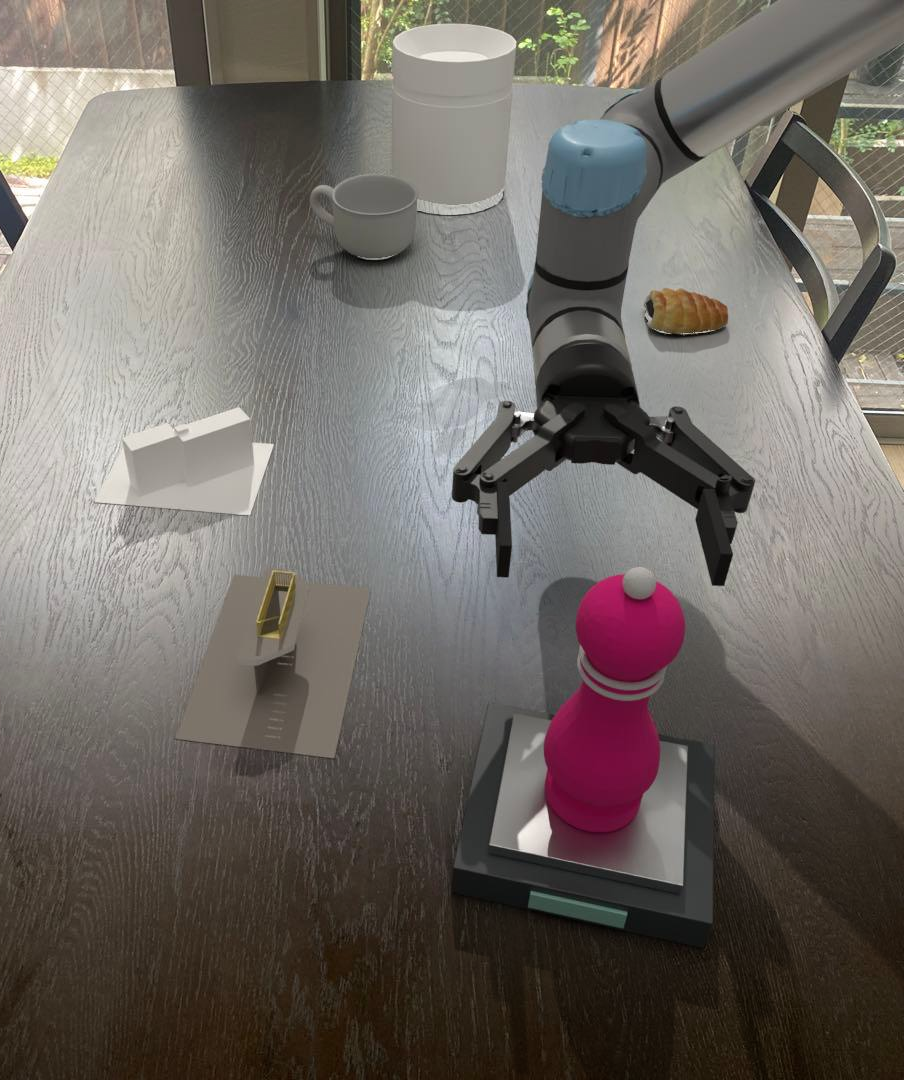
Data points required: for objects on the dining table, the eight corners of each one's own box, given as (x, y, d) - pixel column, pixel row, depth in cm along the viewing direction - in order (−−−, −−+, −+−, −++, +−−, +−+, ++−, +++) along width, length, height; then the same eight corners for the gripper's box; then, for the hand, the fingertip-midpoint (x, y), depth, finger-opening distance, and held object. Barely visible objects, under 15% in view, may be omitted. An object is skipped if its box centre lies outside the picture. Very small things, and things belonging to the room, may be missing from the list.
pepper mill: (650, 847, 68) (716, 626, 55) (534, 832, 69) (573, 611, 56) (646, 756, 73) (705, 534, 60) (538, 743, 74) (574, 521, 61)
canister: (490, 222, 145) (502, 67, 132) (376, 207, 149) (377, 55, 136) (515, 176, 156) (528, 29, 143) (409, 163, 160) (412, 19, 147)
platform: (371, 588, 92) (371, 530, 88) (334, 758, 78) (332, 699, 74) (234, 574, 93) (227, 516, 89) (175, 738, 80) (163, 679, 76)
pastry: (718, 309, 127) (725, 279, 125) (732, 339, 122) (740, 309, 120) (638, 309, 127) (644, 280, 125) (649, 339, 122) (655, 309, 120)
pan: (685, 754, 75) (688, 745, 74) (680, 894, 67) (683, 885, 66) (512, 722, 77) (513, 713, 76) (488, 853, 69) (489, 844, 68)
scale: (706, 770, 77) (715, 744, 76) (703, 952, 67) (713, 927, 65) (485, 728, 80) (488, 701, 79) (449, 896, 70) (452, 870, 68)
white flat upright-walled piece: (274, 442, 108) (271, 394, 104) (251, 515, 99) (246, 466, 95) (128, 432, 109) (119, 384, 105) (93, 503, 101) (82, 454, 97)
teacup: (431, 243, 140) (433, 184, 135) (390, 278, 133) (390, 216, 128) (340, 220, 146) (338, 162, 141) (295, 252, 139) (292, 192, 134)
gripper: (736, 426, 86) (799, 616, 70) (421, 416, 87) (413, 600, 71) (758, 344, 81) (831, 528, 65) (424, 334, 82) (416, 513, 66)
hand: (612, 566), depth 68 cm, fingers open, 13 cm apart
